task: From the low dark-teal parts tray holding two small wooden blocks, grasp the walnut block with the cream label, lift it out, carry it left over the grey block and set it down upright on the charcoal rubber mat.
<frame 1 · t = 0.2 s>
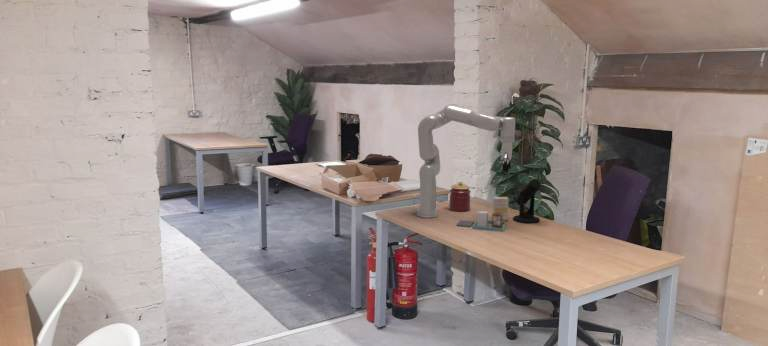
hand: (506, 170, 309), 30 cm above the table, tool pointing down, fingers open, 9 cm apart
walnut block: (496, 227, 305), resting in tray
mat: (465, 224, 311), on the table
tray: (489, 226, 307), on the table
grey block: (482, 226, 308), resting in tray
microphone: (526, 220, 321), on the table
canister: (459, 209, 346), on the table
supplement box: (500, 219, 322), on the table
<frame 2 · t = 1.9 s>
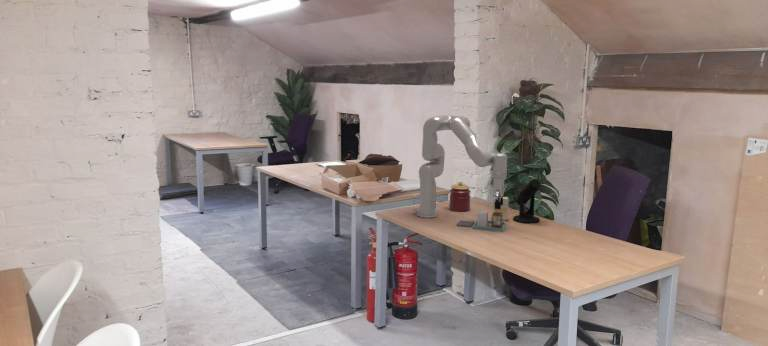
hand: (498, 206, 303), 12 cm above the table, tool pointing down, fingers open, 9 cm apart
nothing on the table moved.
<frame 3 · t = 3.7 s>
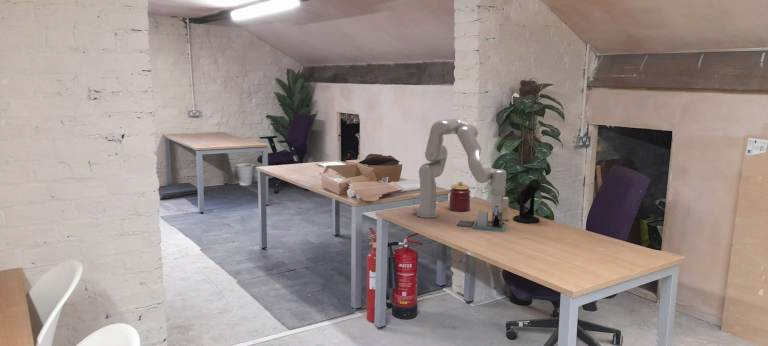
hand: (497, 224, 305), 2 cm above the table, tool pointing down, fingers closed on walnut block, 5 cm apart
walnut block: (496, 227, 305), resting in tray, touching gripper
everything else where it was.
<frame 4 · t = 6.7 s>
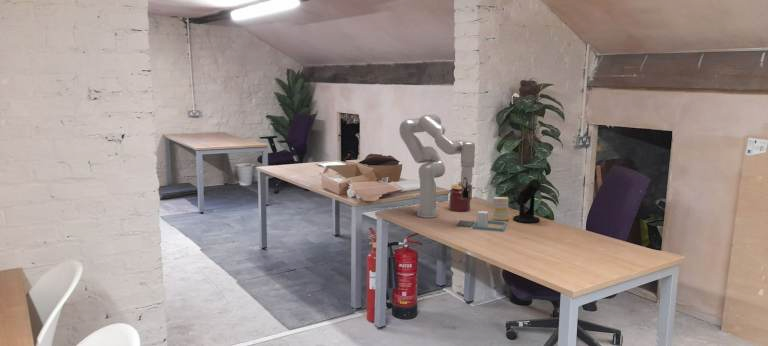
hand: (466, 196, 308), 16 cm above the table, tool pointing down, fingers closed on walnut block, 5 cm apart
walnut block: (466, 199, 308), point 14 cm above the table, touching gripper
everything else where it was.
when the fingers open (4 cm above the table, at t = 9.6 s): walnut block drops 1 cm, resting on mat.
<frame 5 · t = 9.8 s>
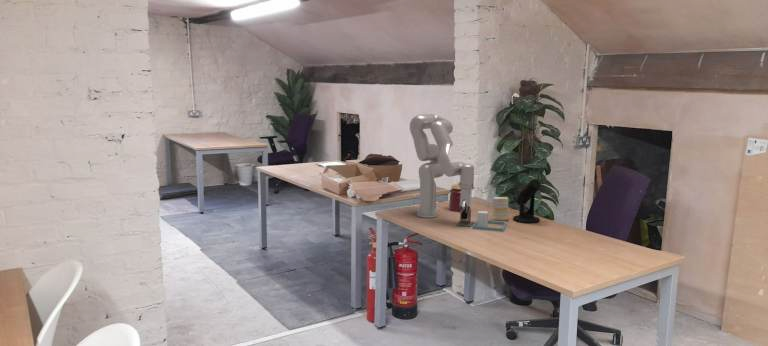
hand: (465, 217, 310), 4 cm above the table, tool pointing down, fingers open, 7 cm apart
walnut block: (465, 223, 311), point 1 cm above the table, touching mat
everything else where it was.
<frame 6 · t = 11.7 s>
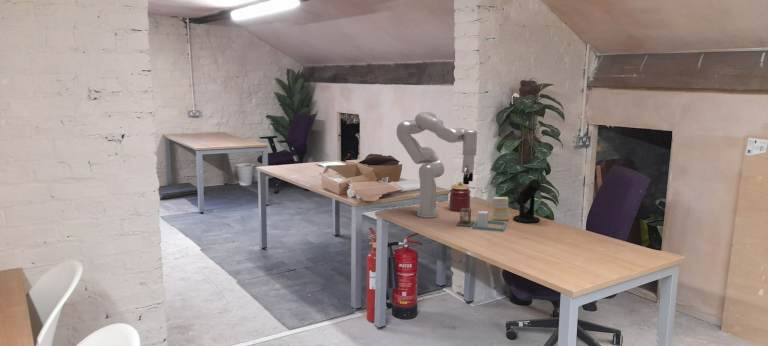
hand: (467, 182, 309), 23 cm above the table, tool pointing down, fingers open, 9 cm apart
nothing on the table moved.
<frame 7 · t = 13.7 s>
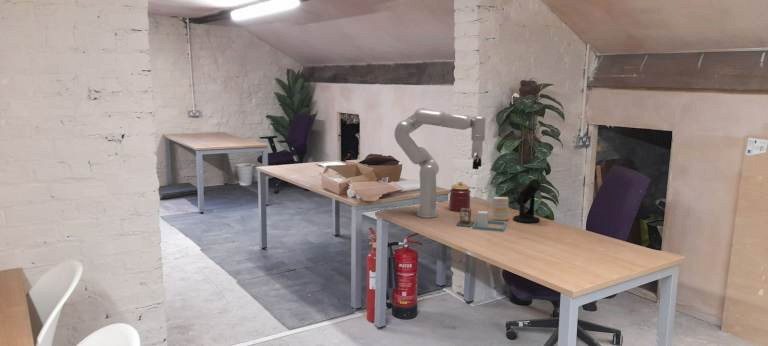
hand: (476, 167, 318), 30 cm above the table, tool pointing down, fingers open, 9 cm apart
nothing on the table moved.
at the end: walnut block inside the target area on the mat (0.1 cm from its centre), point 0.8 cm above the mat's base; walnut block tilted 0°; the gripper is holding nothing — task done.
